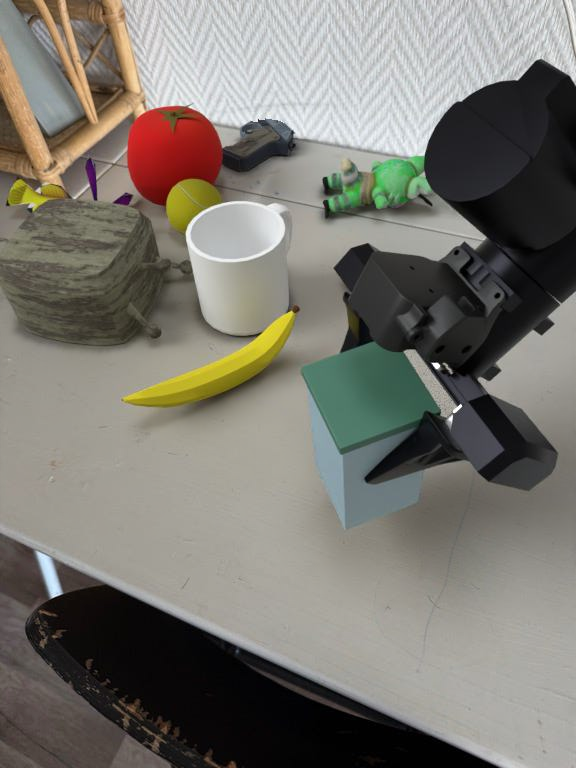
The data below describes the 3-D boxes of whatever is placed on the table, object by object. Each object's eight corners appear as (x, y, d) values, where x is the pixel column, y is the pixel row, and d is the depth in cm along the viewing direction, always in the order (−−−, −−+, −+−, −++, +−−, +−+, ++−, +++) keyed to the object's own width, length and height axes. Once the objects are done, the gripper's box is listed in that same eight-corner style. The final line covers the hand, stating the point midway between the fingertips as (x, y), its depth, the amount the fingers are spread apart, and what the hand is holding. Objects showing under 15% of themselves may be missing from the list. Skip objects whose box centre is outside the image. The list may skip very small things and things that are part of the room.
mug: (245, 351, 63) (234, 276, 55) (183, 309, 67) (165, 234, 59) (321, 289, 68) (322, 213, 60) (259, 254, 73) (252, 179, 65)
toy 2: (327, 237, 77) (444, 219, 75) (317, 188, 72) (444, 167, 69) (326, 193, 84) (434, 175, 81) (317, 144, 78) (433, 123, 76)
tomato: (114, 202, 81) (89, 121, 72) (181, 157, 88) (166, 77, 79) (181, 232, 76) (162, 149, 67) (246, 181, 83) (238, 100, 74)
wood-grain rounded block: (201, 269, 72) (16, 245, 76) (189, 205, 65) (-14, 182, 69) (158, 356, 63) (-48, 323, 67) (140, 293, 56) (-90, 260, 60)
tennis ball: (225, 247, 76) (199, 222, 80) (239, 196, 72) (211, 171, 76) (177, 247, 72) (152, 220, 76) (189, 192, 68) (162, 167, 72)
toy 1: (168, 205, 80) (142, 274, 80) (51, 171, 84) (26, 236, 84) (127, 164, 69) (97, 244, 68) (-6, 127, 73) (-34, 203, 73)
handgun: (196, 135, 93) (265, 114, 95) (230, 177, 85) (305, 153, 87) (193, 119, 91) (264, 99, 94) (228, 161, 83) (304, 137, 86)
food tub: (384, 436, 49) (393, 334, 38) (421, 503, 45) (441, 411, 34) (312, 463, 48) (300, 366, 37) (343, 534, 44) (340, 449, 34)
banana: (129, 420, 58) (111, 379, 53) (292, 340, 64) (290, 296, 59) (140, 441, 56) (123, 400, 51) (307, 357, 62) (306, 313, 57)
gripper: (367, 124, 34) (213, 317, 41) (585, 339, 23) (325, 559, 29) (461, 207, 42) (319, 358, 48) (657, 398, 31) (439, 561, 37)
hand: (345, 440), depth 41 cm, fingers closed on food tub, 7 cm apart
